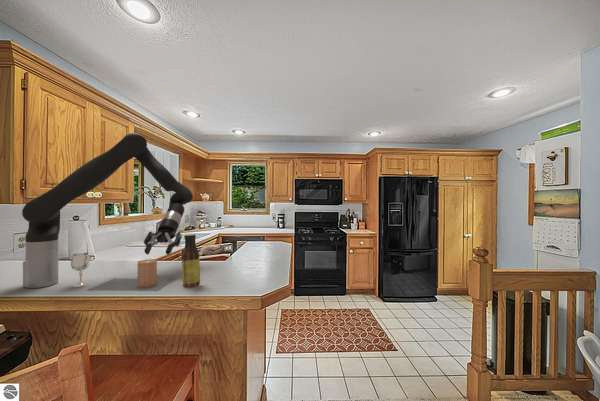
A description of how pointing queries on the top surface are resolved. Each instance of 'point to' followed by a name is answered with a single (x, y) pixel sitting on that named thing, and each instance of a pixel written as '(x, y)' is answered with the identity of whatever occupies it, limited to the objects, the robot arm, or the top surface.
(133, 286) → the rubber mat
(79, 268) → the wineglass
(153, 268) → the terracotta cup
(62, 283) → the top surface
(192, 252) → the sauce bottle
